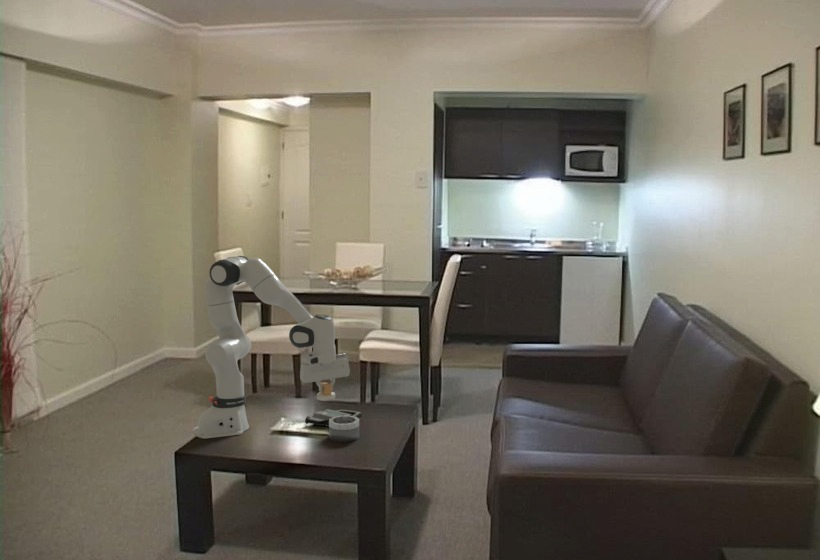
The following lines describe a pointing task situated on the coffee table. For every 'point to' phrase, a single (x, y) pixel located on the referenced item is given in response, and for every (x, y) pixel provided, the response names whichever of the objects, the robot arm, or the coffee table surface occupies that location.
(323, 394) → the block on round base
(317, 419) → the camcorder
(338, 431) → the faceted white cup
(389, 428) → the coffee table surface
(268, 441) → the coffee table surface
